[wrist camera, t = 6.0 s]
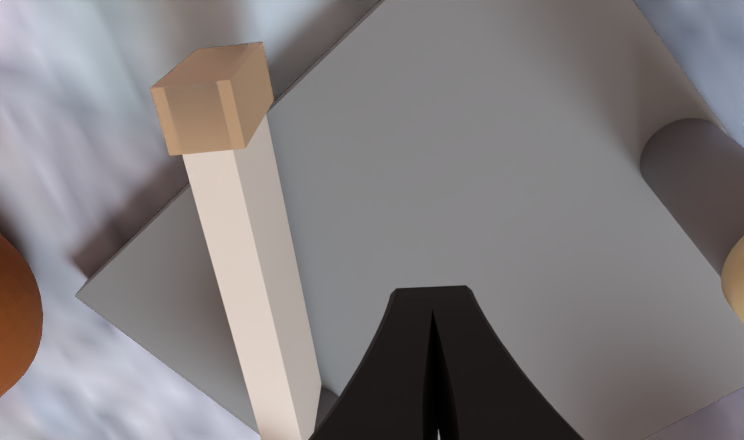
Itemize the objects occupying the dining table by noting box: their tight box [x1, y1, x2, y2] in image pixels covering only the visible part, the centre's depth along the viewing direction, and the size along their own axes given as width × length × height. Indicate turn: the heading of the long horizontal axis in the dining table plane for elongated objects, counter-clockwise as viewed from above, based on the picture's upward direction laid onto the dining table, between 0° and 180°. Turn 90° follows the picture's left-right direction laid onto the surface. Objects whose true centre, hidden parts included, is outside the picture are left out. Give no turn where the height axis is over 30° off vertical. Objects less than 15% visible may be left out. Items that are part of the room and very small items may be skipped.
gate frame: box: [75, 0, 744, 440], centre depth 19 cm, size 18×19×8 cm
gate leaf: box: [150, 42, 322, 440], centre depth 18 cm, size 12×2×4 cm, turn 7°
